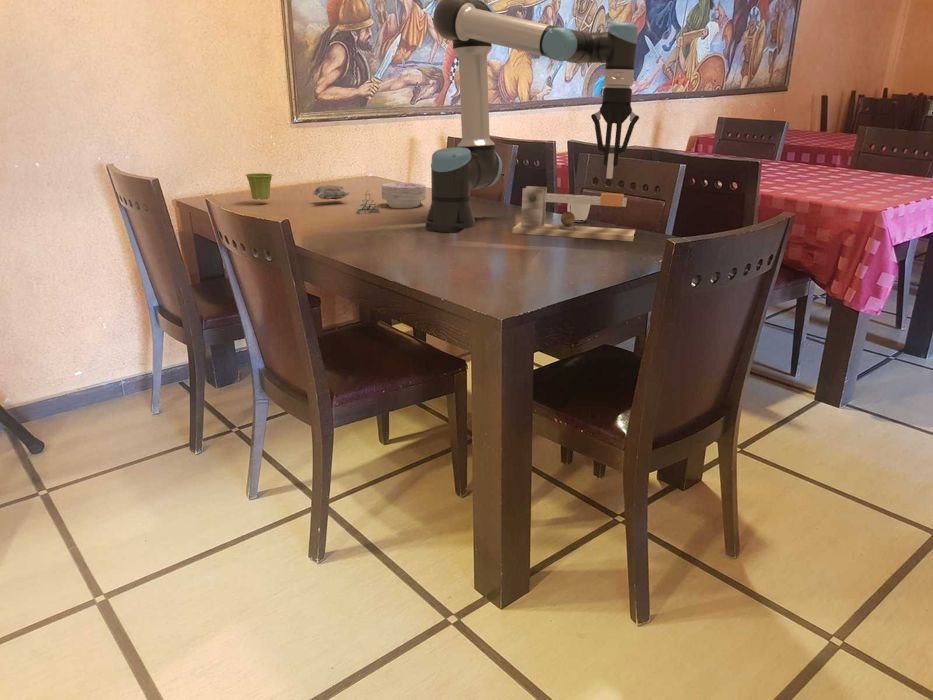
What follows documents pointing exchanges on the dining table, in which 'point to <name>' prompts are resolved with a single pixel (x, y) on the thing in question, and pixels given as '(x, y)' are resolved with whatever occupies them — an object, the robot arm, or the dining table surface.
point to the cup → (579, 210)
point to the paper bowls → (403, 194)
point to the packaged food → (330, 192)
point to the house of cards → (368, 210)
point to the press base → (579, 232)
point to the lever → (588, 199)
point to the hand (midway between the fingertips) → (609, 177)
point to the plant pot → (259, 185)
